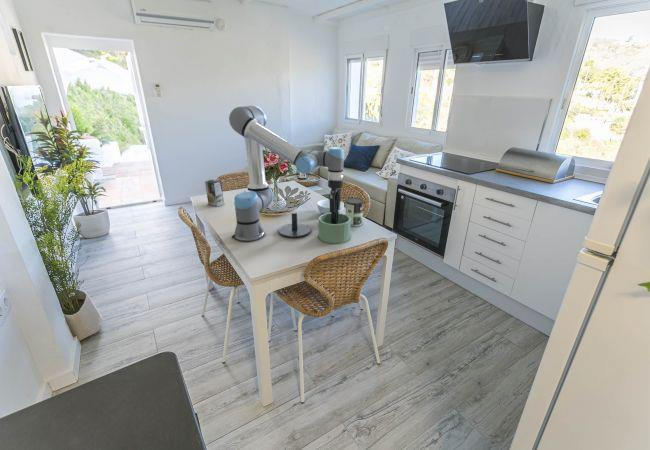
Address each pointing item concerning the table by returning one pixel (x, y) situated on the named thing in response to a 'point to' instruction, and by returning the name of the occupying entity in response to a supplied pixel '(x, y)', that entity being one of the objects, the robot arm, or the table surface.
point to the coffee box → (214, 192)
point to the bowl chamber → (334, 228)
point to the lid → (294, 228)
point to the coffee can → (354, 210)
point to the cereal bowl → (327, 206)
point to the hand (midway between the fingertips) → (334, 222)
